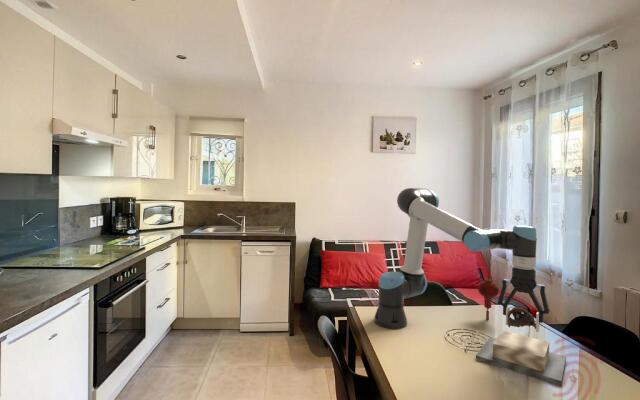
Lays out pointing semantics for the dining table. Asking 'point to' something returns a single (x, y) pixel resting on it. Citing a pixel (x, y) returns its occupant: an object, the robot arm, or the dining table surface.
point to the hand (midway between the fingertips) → (522, 327)
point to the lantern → (488, 293)
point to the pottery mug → (520, 318)
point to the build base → (547, 375)
